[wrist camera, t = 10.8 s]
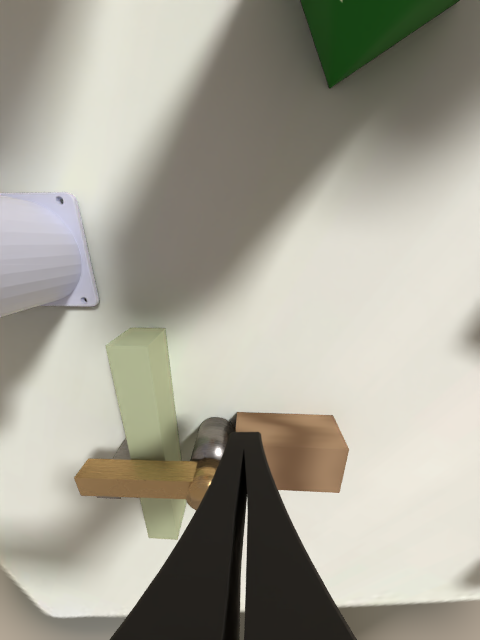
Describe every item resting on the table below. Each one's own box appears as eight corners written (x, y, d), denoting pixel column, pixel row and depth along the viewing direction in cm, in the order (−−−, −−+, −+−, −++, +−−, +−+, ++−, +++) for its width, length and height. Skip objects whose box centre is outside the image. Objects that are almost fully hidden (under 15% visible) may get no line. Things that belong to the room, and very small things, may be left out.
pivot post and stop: (128, 445, 23) (97, 497, 19) (121, 413, 22) (85, 461, 17) (235, 450, 23) (231, 504, 18) (235, 417, 21) (230, 467, 17)
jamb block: (237, 451, 23) (234, 487, 19) (237, 412, 21) (234, 444, 18) (326, 454, 22) (339, 492, 19) (332, 415, 21) (349, 449, 17)
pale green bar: (161, 501, 26) (148, 537, 23) (130, 327, 19) (105, 345, 15) (186, 502, 26) (177, 539, 23) (165, 328, 19) (147, 346, 15)
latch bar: (226, 458, 18) (223, 487, 16) (227, 483, 19) (224, 513, 17) (87, 455, 18) (66, 482, 16) (95, 478, 19) (76, 507, 17)
